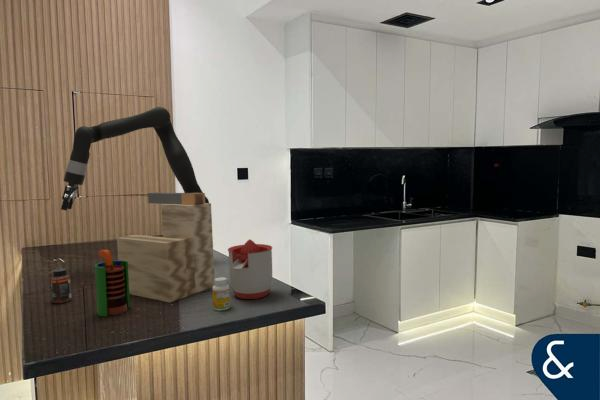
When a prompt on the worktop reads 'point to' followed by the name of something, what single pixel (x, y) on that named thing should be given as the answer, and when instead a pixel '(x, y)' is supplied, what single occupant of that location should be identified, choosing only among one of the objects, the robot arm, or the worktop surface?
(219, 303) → the supplement bottle
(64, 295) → the supplement bottle
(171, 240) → the stand
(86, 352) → the worktop surface
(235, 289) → the citrus juicer
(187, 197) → the grey and tan bar
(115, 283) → the motor
